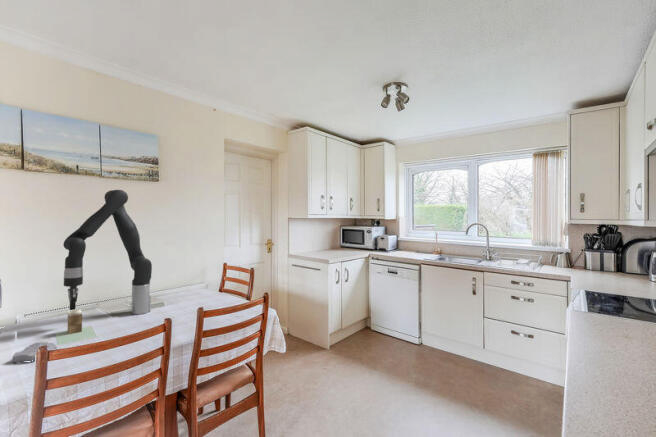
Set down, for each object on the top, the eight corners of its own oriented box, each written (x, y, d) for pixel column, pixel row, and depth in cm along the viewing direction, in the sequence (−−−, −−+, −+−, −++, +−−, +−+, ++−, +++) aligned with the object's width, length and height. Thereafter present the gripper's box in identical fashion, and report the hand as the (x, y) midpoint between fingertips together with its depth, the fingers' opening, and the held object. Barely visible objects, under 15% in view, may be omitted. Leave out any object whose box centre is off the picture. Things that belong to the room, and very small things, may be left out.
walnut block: (80, 328, 153) (80, 309, 153) (81, 331, 149) (82, 311, 149) (67, 331, 149) (67, 311, 149) (68, 334, 146) (68, 314, 146)
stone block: (59, 353, 132) (34, 349, 131) (61, 343, 132) (37, 339, 131) (35, 368, 121) (8, 364, 120) (37, 357, 120) (10, 352, 119)
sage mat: (91, 327, 157) (91, 325, 157) (97, 338, 145) (97, 336, 144) (55, 334, 147) (55, 332, 147) (58, 346, 134) (58, 345, 134)
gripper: (84, 277, 152) (83, 311, 153) (81, 273, 162) (80, 305, 162) (65, 279, 147) (63, 314, 147) (62, 274, 156) (61, 307, 157)
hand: (72, 309), depth 155 cm, fingers closed
